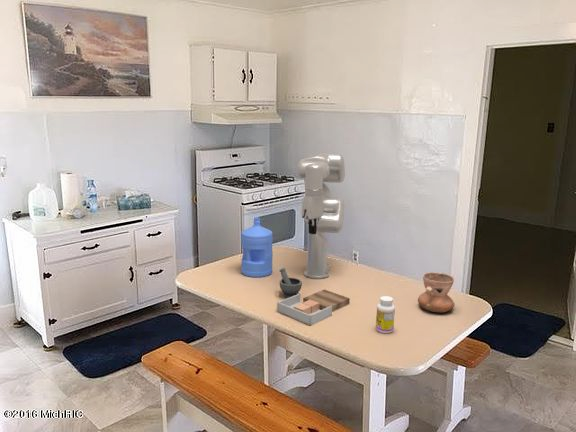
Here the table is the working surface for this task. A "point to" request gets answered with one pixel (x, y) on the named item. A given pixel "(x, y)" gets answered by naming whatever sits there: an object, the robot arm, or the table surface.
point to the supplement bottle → (385, 315)
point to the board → (328, 300)
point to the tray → (309, 319)
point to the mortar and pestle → (289, 284)
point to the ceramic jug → (436, 292)
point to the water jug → (256, 250)
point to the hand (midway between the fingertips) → (312, 233)
